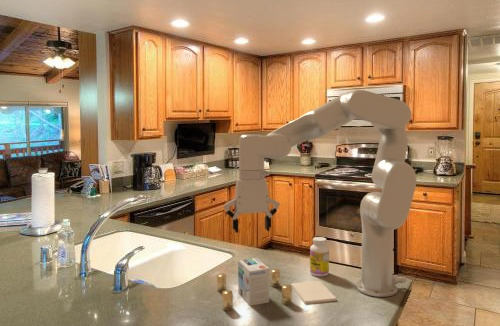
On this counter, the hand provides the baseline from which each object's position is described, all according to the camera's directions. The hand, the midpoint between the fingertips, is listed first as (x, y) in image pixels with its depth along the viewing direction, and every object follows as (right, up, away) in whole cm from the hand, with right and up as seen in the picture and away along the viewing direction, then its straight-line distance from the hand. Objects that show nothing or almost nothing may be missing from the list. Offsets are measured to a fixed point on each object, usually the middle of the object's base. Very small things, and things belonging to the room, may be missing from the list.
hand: (251, 230), depth 124 cm
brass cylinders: (0, -21, +4) cm, 21 cm away
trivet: (+19, -21, +5) cm, 29 cm away
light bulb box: (0, -21, +2) cm, 22 cm away
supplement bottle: (+24, -19, +21) cm, 37 cm away
